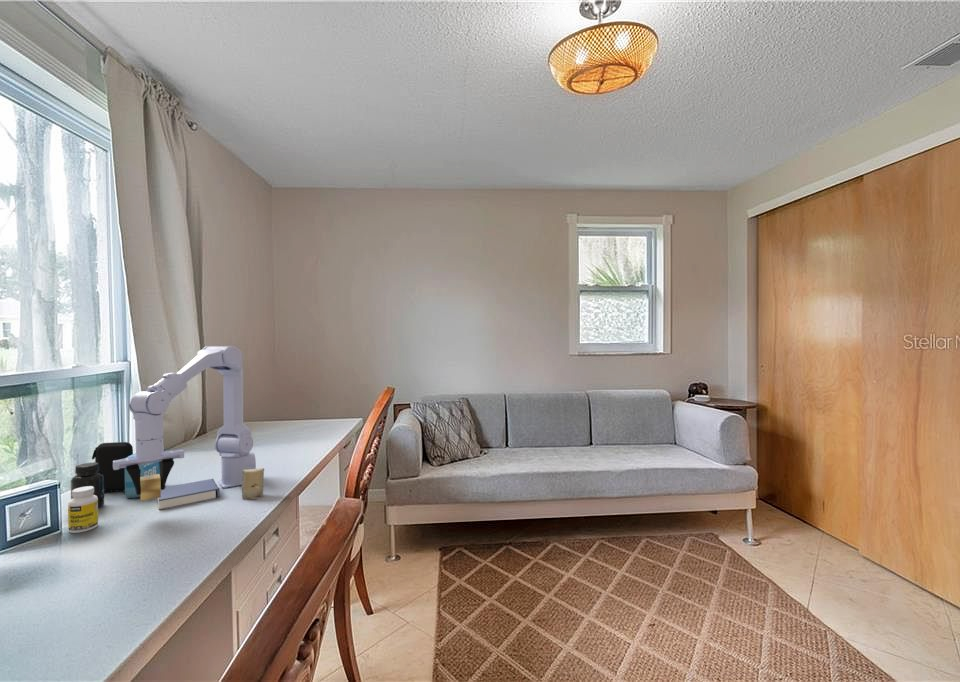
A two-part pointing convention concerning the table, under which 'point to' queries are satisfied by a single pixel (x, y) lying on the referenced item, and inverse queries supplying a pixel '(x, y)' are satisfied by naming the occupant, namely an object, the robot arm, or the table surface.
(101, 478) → the supplement bottle
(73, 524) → the supplement bottle
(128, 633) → the table surface
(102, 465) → the carrying case or bag
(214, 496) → the slate blue book
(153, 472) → the data package
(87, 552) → the table surface
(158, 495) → the mustard block
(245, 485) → the tan upright rounded block
